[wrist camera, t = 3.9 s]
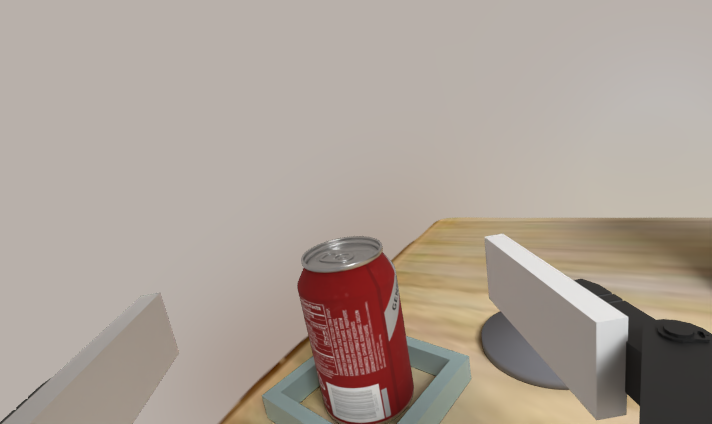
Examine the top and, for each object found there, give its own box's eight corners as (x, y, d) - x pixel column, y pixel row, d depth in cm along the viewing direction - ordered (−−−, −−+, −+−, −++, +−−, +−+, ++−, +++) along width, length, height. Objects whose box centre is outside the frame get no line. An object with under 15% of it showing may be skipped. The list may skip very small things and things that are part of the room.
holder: (361, 339, 36) (358, 320, 35) (471, 378, 28) (468, 356, 28) (267, 418, 28) (261, 395, 28) (383, 500, 21) (378, 472, 20)
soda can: (395, 448, 24) (363, 275, 21) (308, 422, 27) (270, 269, 24) (426, 376, 29) (406, 233, 26) (351, 362, 33) (325, 233, 30)
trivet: (507, 303, 37) (507, 296, 37) (631, 328, 31) (631, 320, 30) (461, 361, 30) (461, 352, 30) (609, 410, 24) (609, 400, 23)
